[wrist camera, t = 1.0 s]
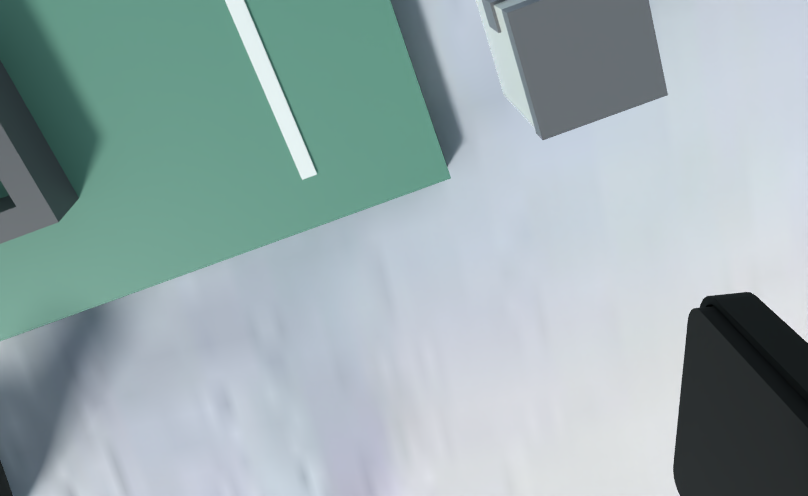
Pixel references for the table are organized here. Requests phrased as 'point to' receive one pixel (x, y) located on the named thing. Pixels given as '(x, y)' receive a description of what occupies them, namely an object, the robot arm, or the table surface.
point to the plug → (573, 58)
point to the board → (190, 137)
